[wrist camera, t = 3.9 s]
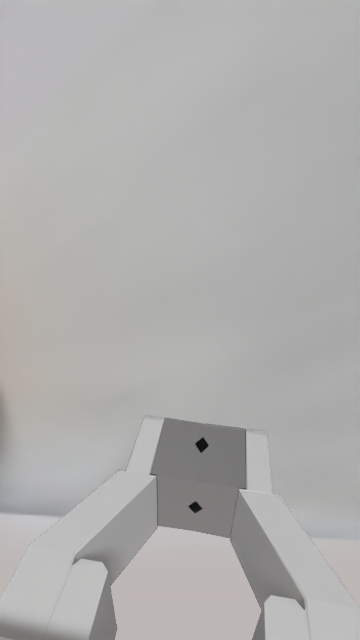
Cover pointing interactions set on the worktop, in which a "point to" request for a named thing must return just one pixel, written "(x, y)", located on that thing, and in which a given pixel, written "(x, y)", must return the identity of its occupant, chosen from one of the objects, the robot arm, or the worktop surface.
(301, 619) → the robot arm
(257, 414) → the worktop surface
